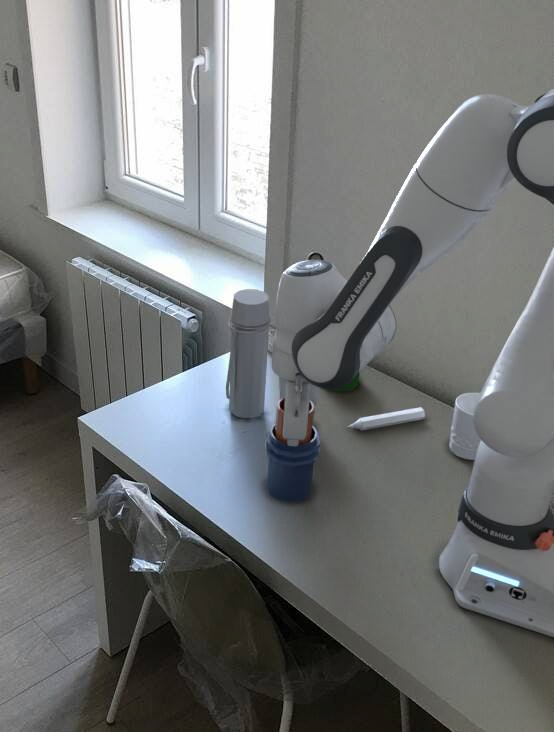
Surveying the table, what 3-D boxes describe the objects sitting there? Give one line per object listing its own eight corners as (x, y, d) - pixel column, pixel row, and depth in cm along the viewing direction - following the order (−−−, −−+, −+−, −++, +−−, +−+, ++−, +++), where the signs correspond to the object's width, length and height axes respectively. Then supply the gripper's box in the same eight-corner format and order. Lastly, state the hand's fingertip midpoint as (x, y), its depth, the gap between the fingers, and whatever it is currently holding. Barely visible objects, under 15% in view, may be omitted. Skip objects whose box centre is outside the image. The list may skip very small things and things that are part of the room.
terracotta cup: (315, 452, 145) (321, 403, 140) (297, 469, 142) (301, 419, 136) (285, 440, 149) (289, 391, 143) (266, 456, 145) (270, 407, 139)
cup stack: (319, 485, 150) (326, 429, 143) (296, 508, 145) (301, 451, 138) (281, 469, 154) (286, 414, 147) (257, 490, 149) (261, 434, 142)
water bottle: (245, 396, 174) (251, 284, 160) (273, 412, 169) (281, 297, 155) (212, 412, 170) (214, 298, 155) (239, 429, 164) (245, 313, 150)
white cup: (464, 432, 162) (474, 387, 156) (499, 452, 156) (511, 406, 151) (436, 446, 158) (446, 401, 152) (471, 467, 153) (482, 421, 147)
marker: (345, 434, 164) (419, 419, 167) (349, 434, 161) (425, 419, 165) (343, 420, 163) (418, 406, 166) (348, 421, 161) (423, 406, 164)
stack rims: (328, 446, 145) (330, 434, 144) (300, 473, 139) (301, 460, 138) (284, 429, 150) (285, 417, 148) (255, 453, 144) (256, 441, 143)
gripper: (320, 395, 126) (311, 469, 133) (320, 330, 142) (313, 399, 150) (276, 392, 126) (271, 466, 134) (282, 327, 143) (277, 397, 151)
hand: (293, 430), depth 142 cm, fingers closed on terracotta cup, 6 cm apart
